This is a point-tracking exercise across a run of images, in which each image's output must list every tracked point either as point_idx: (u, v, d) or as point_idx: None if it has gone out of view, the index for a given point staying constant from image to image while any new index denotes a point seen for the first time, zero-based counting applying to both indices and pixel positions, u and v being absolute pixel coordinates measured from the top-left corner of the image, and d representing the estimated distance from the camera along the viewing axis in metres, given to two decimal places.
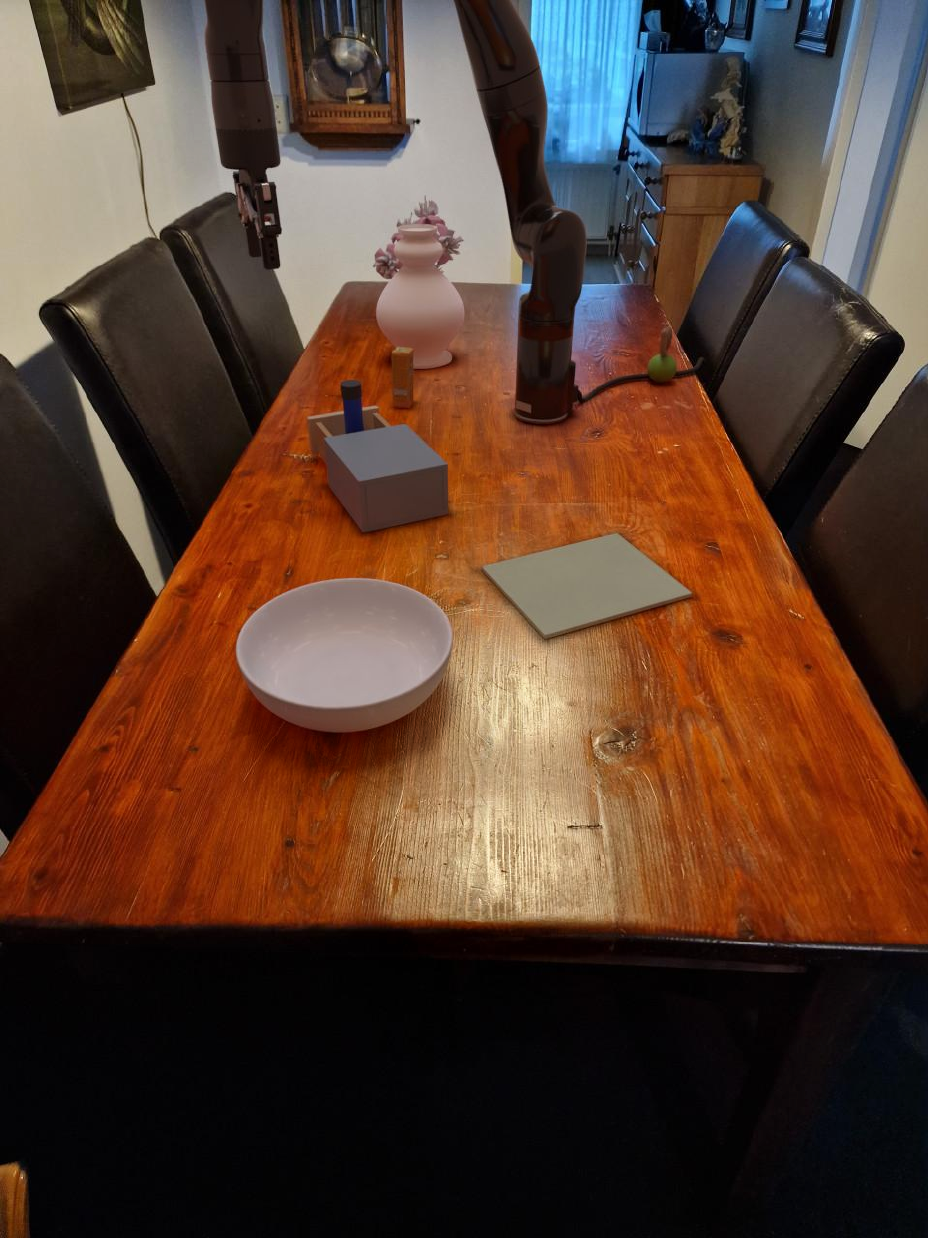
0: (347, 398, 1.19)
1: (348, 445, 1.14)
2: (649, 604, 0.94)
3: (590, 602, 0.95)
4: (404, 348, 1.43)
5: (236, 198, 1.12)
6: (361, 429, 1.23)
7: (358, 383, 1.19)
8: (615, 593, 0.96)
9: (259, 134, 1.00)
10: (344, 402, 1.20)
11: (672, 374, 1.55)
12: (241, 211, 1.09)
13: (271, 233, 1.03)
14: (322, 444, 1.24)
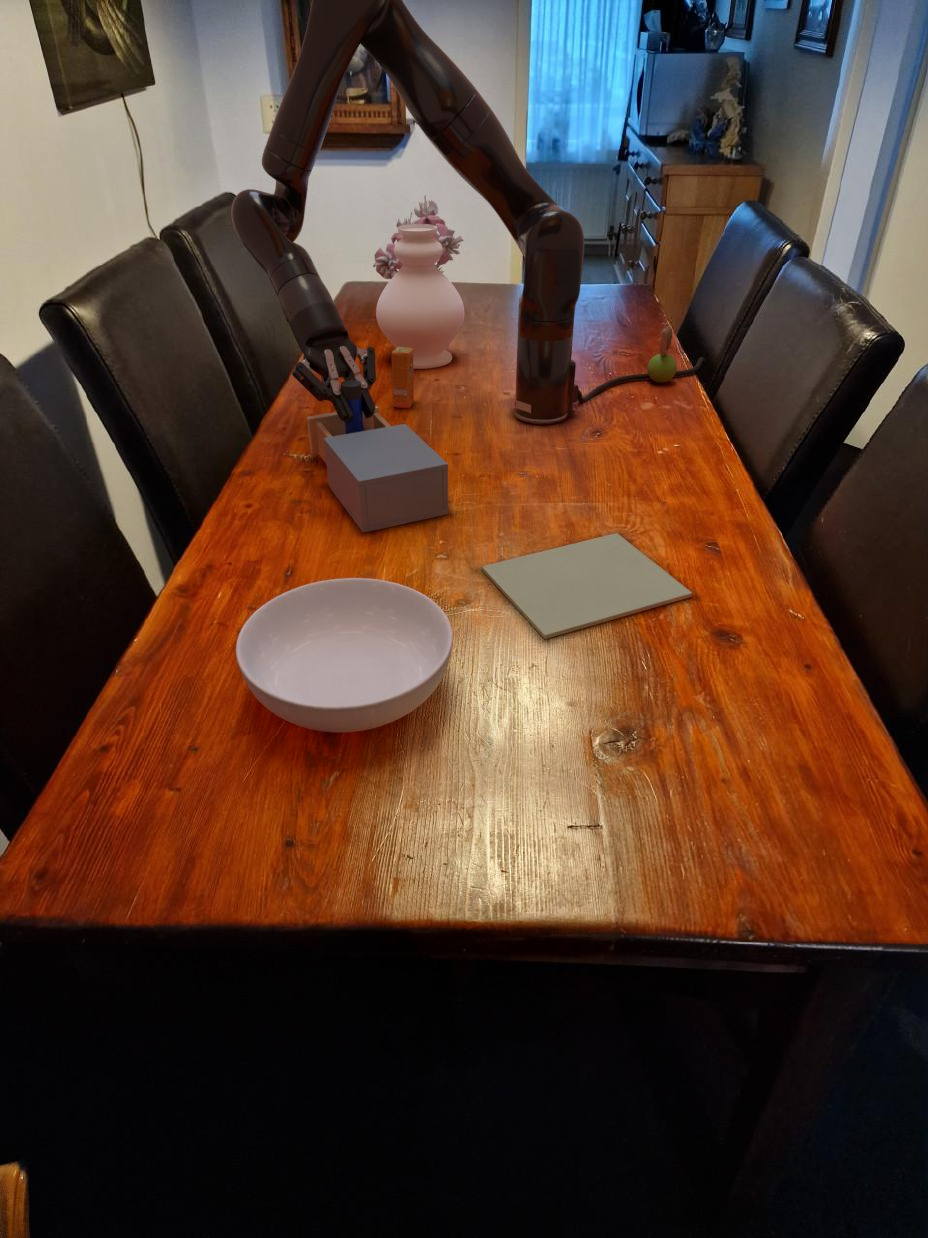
0: (347, 398, 1.19)
1: (348, 445, 1.14)
2: (649, 604, 0.94)
3: (590, 602, 0.95)
4: (404, 348, 1.43)
5: None
6: (361, 429, 1.23)
7: (358, 383, 1.19)
8: (615, 593, 0.96)
9: (293, 322, 1.19)
10: None
11: (672, 374, 1.55)
12: None
13: (319, 396, 1.19)
14: (322, 444, 1.24)
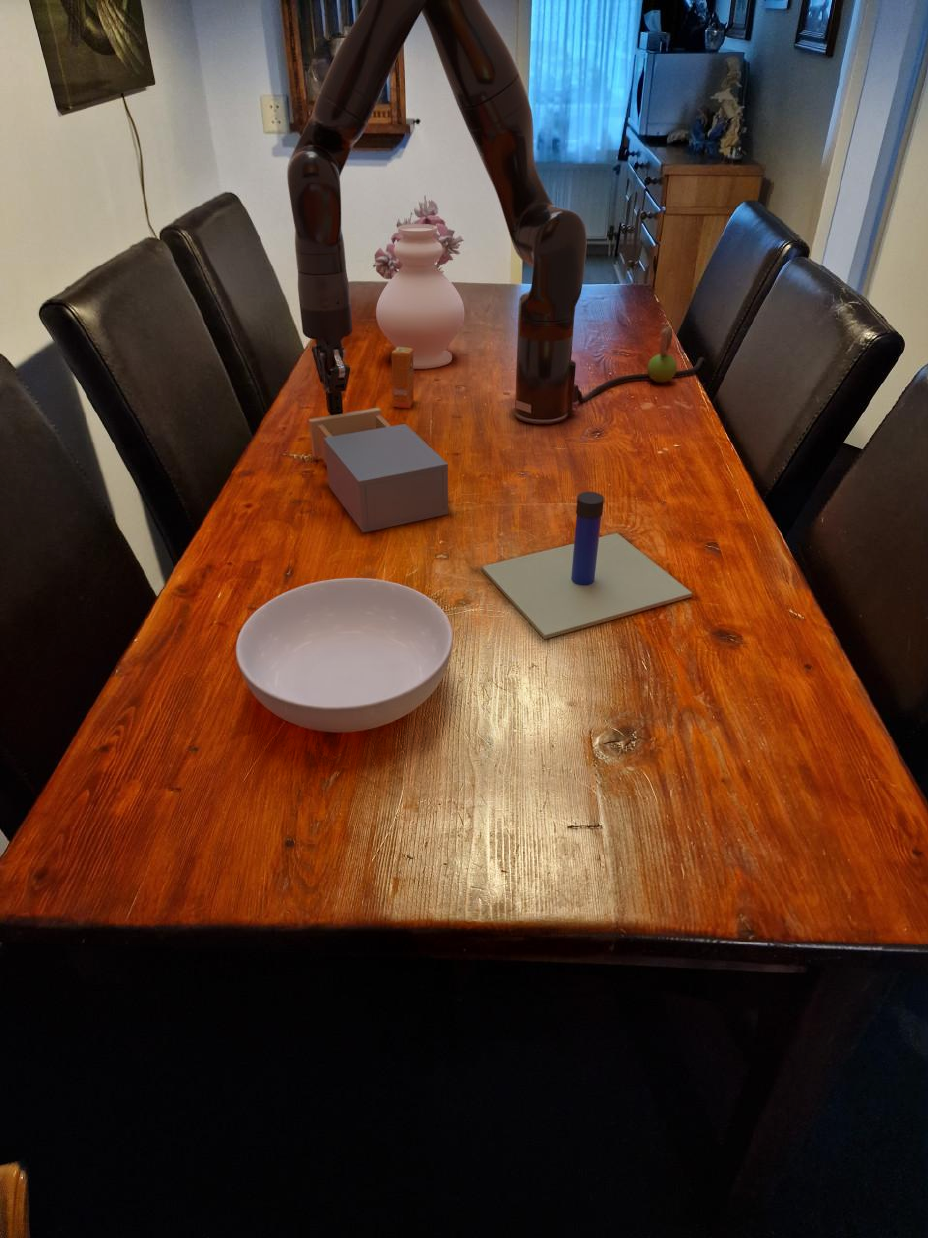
0: (586, 517, 0.92)
1: (348, 445, 1.14)
2: (649, 604, 0.94)
3: (590, 602, 0.95)
4: (404, 348, 1.43)
5: None
6: (596, 553, 0.96)
7: (601, 498, 0.92)
8: (615, 593, 0.96)
9: (337, 313, 1.19)
10: (580, 521, 0.93)
11: (672, 374, 1.55)
12: (320, 371, 1.27)
13: (338, 391, 1.26)
14: (324, 447, 1.23)
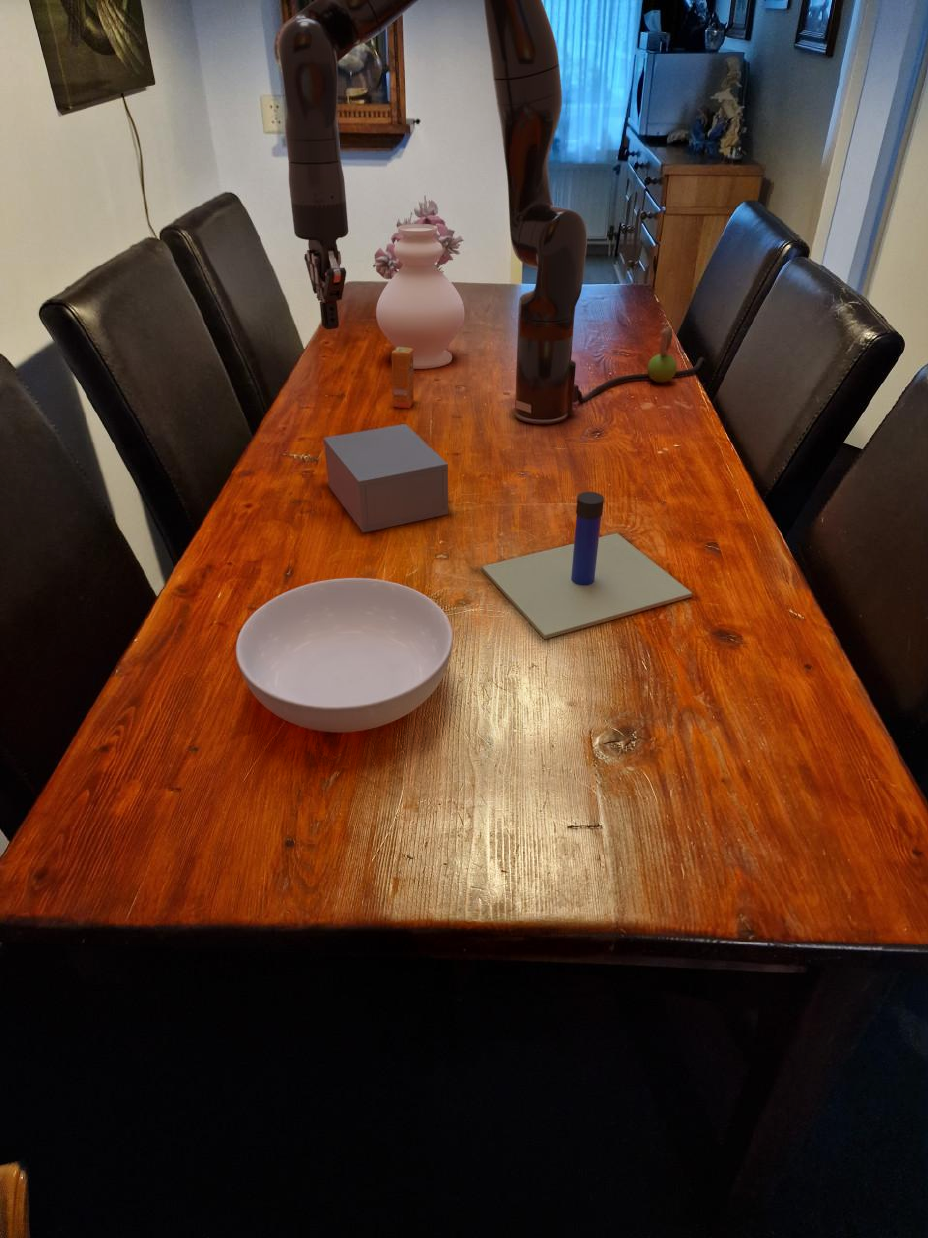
0: (586, 517, 0.92)
1: (348, 445, 1.14)
2: (649, 604, 0.94)
3: (590, 602, 0.95)
4: (404, 348, 1.43)
5: (310, 277, 1.21)
6: (596, 553, 0.96)
7: (601, 498, 0.92)
8: (615, 593, 0.96)
9: (332, 209, 1.10)
10: (580, 521, 0.93)
11: (672, 374, 1.55)
12: (314, 279, 1.18)
13: (333, 299, 1.17)
14: None
